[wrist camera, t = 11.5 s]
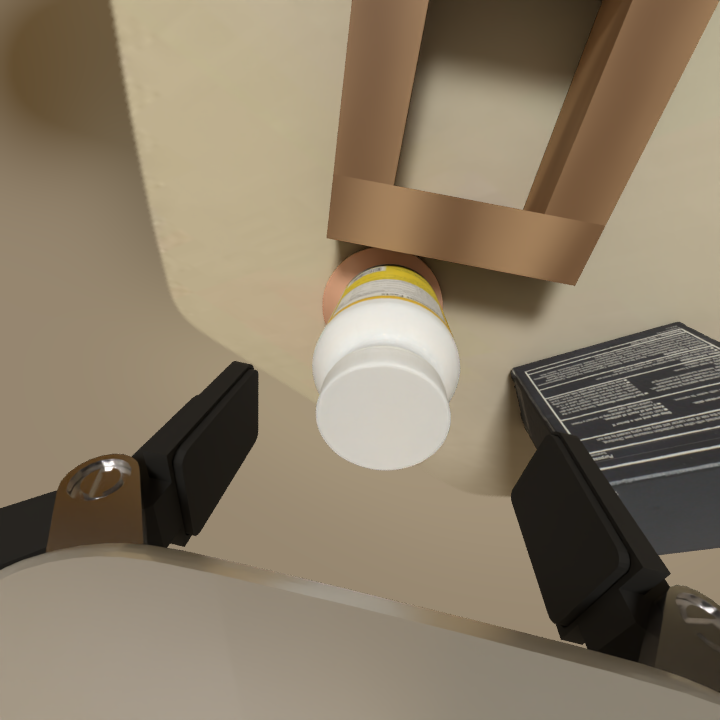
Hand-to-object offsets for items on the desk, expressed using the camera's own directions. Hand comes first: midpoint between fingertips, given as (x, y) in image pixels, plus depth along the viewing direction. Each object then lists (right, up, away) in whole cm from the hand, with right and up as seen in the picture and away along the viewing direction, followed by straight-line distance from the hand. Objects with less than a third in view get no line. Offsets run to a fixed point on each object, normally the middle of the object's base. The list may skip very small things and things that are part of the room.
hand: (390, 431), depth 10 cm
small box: (+16, +1, +13) cm, 20 cm away
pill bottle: (+1, +6, +11) cm, 12 cm away
